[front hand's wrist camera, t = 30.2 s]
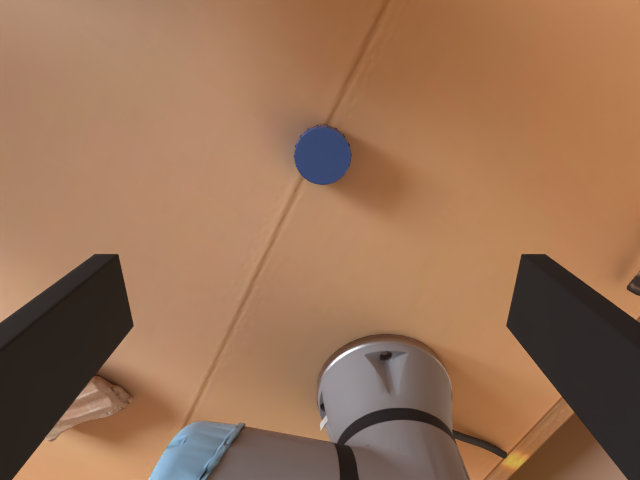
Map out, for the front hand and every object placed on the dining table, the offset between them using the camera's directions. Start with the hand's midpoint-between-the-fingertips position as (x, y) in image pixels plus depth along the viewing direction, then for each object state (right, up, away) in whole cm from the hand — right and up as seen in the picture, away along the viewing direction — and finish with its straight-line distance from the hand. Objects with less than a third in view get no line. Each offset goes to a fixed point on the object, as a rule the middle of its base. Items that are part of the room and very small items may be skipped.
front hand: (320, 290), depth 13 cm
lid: (0, +9, +20) cm, 22 cm away
